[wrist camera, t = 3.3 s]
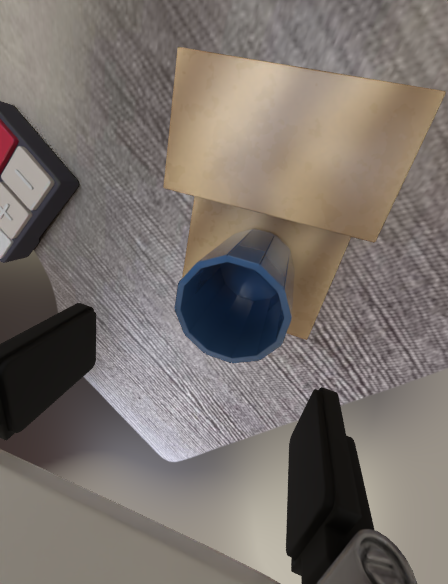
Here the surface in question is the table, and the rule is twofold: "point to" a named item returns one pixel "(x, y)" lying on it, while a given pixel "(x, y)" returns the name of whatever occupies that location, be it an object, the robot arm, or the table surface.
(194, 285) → the cup
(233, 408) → the table surface
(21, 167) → the calculator
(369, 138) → the step shelf
